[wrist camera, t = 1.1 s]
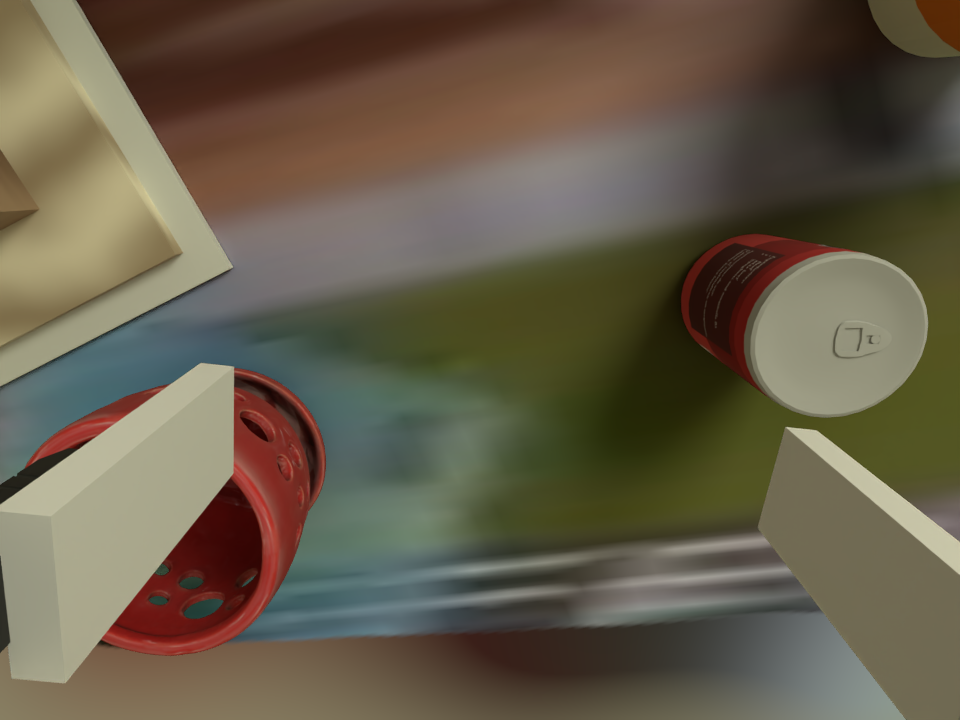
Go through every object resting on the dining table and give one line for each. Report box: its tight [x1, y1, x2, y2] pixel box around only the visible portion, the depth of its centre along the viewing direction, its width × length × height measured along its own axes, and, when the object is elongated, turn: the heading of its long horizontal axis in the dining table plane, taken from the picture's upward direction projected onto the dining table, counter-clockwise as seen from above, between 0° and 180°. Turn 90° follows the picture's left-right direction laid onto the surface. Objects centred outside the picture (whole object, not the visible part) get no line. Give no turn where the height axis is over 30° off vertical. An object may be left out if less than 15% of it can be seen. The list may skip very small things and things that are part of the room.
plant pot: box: [24, 368, 326, 656], centre depth 36 cm, size 13×13×12 cm
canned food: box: [681, 234, 928, 417], centre depth 34 cm, size 8×8×11 cm
